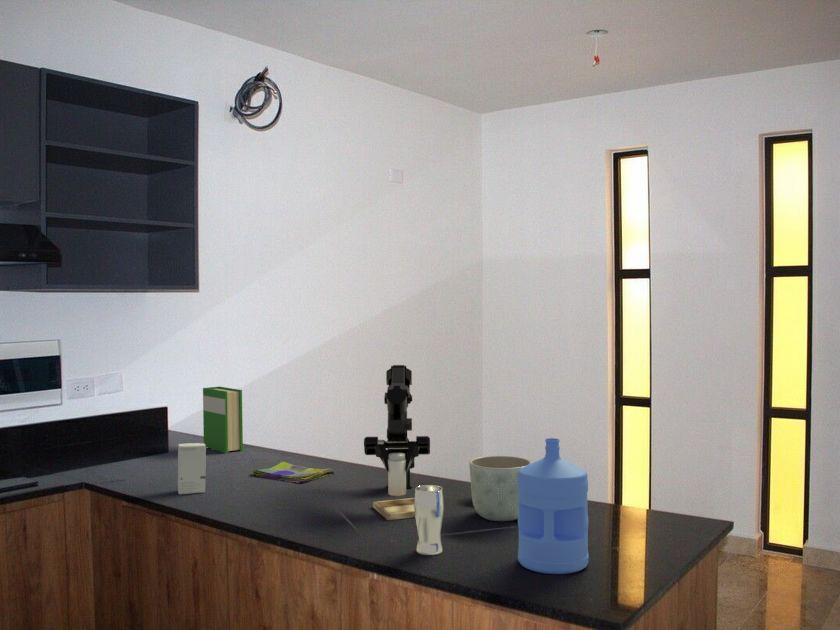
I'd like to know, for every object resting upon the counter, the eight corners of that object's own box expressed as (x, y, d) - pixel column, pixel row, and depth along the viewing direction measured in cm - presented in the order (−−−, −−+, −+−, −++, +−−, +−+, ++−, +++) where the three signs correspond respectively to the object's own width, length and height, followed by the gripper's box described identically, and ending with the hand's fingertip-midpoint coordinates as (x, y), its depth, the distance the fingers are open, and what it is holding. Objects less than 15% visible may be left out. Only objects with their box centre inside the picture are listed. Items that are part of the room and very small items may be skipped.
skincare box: (178, 495, 246) (177, 446, 245) (177, 490, 251) (176, 443, 251) (206, 492, 248) (206, 444, 248) (205, 488, 254) (204, 441, 254)
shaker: (398, 490, 228) (398, 451, 228) (409, 493, 224) (409, 454, 224) (384, 493, 225) (384, 454, 224) (395, 496, 221) (395, 456, 220)
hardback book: (242, 451, 315) (241, 390, 314) (225, 453, 310) (225, 391, 309) (220, 445, 328) (219, 386, 327) (203, 447, 323) (202, 388, 322)
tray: (419, 504, 232) (419, 497, 232) (436, 516, 219) (436, 509, 219) (373, 508, 228) (372, 501, 228) (387, 521, 215) (387, 514, 214)
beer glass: (413, 547, 193) (413, 485, 193) (442, 546, 194) (442, 484, 193) (415, 556, 186) (415, 492, 186) (445, 555, 187) (445, 491, 186)
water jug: (524, 550, 190) (523, 432, 189) (591, 555, 186) (591, 435, 185) (512, 571, 175) (511, 444, 175) (585, 578, 171) (584, 447, 170)
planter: (521, 507, 228) (521, 454, 227) (540, 524, 211) (540, 467, 211) (463, 511, 225) (463, 457, 224) (478, 528, 208) (477, 469, 208)
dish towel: (285, 467, 286) (285, 459, 286) (337, 475, 273) (337, 467, 273) (249, 476, 272) (248, 468, 272) (302, 485, 258) (302, 477, 258)
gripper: (363, 408, 228) (361, 455, 217) (429, 407, 228) (430, 454, 217) (365, 431, 236) (363, 477, 225) (429, 430, 236) (430, 476, 225)
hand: (396, 471), depth 223 cm, fingers closed on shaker, 5 cm apart
